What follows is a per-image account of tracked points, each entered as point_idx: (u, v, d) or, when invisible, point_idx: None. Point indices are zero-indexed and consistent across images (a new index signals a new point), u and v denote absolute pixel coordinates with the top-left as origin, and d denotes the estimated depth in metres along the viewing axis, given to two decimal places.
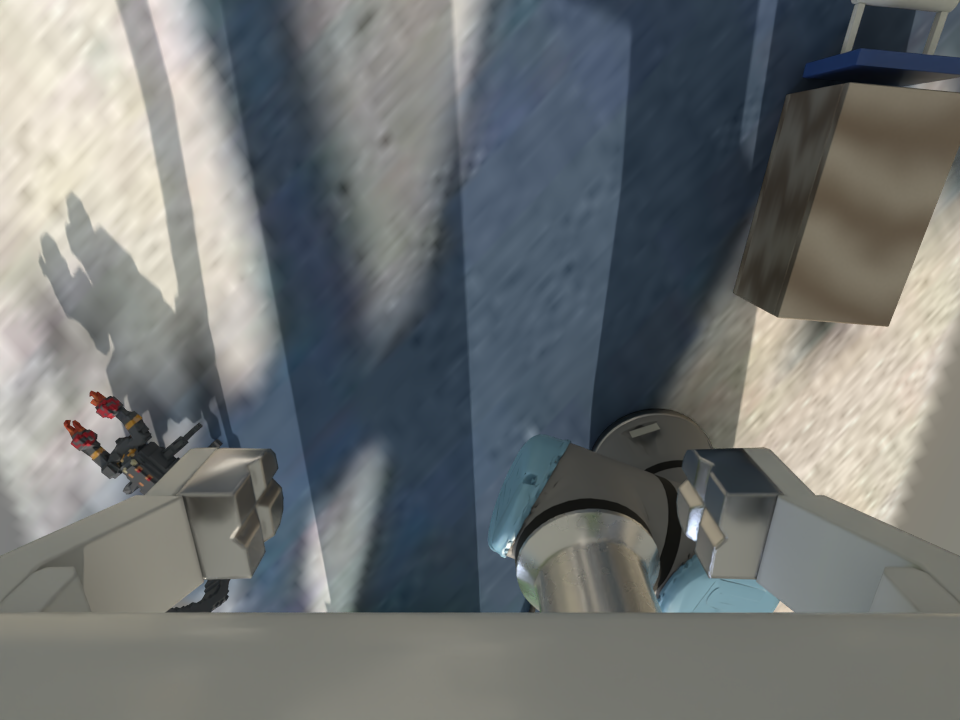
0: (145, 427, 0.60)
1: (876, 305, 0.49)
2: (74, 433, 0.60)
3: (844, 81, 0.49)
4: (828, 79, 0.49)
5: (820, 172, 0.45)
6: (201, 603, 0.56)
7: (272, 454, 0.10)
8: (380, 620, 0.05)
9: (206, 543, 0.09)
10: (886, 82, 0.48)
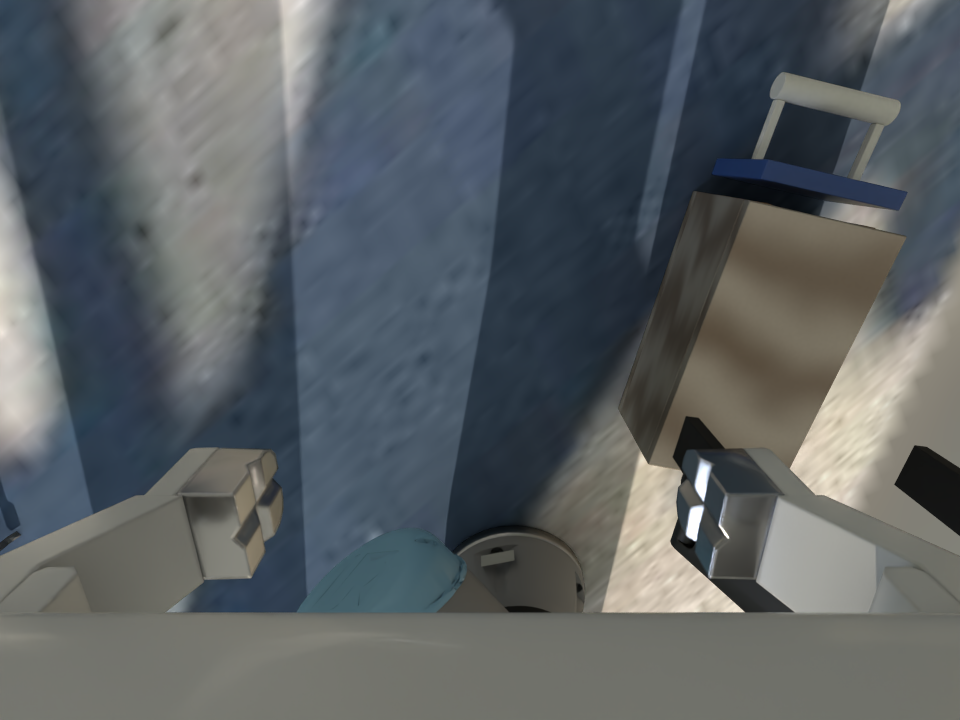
0: None
1: None
2: None
3: None
4: (742, 181, 0.40)
5: (708, 303, 0.35)
6: None
7: (272, 454, 0.10)
8: (380, 620, 0.05)
9: (206, 543, 0.09)
10: (808, 195, 0.39)
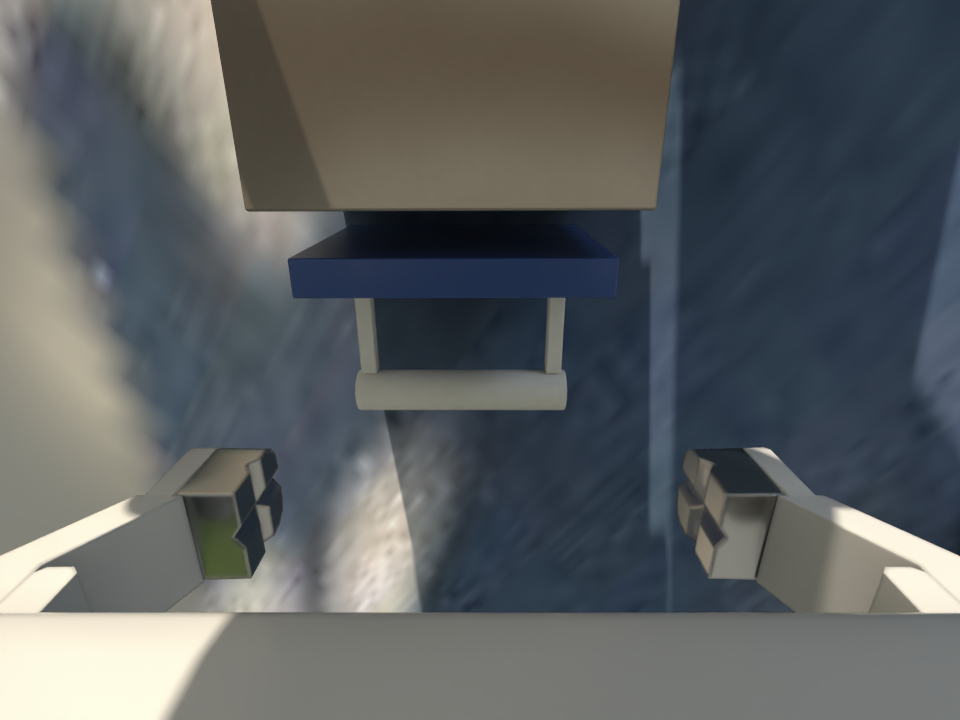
0: None
1: None
2: None
3: (479, 225, 0.22)
4: (520, 225, 0.22)
5: None
6: None
7: (272, 454, 0.10)
8: (380, 620, 0.05)
9: (206, 543, 0.09)
10: (404, 229, 0.21)
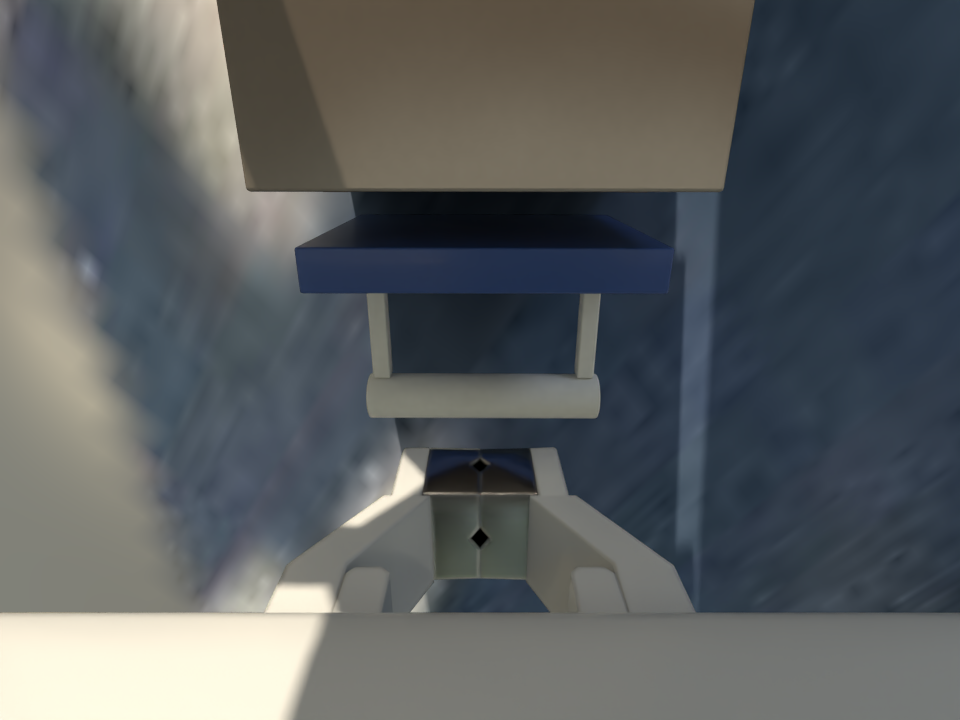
0: None
1: None
2: None
3: (501, 215, 0.20)
4: (547, 215, 0.20)
5: None
6: None
7: (480, 454, 0.10)
8: (380, 620, 0.05)
9: (443, 543, 0.09)
10: (420, 219, 0.19)
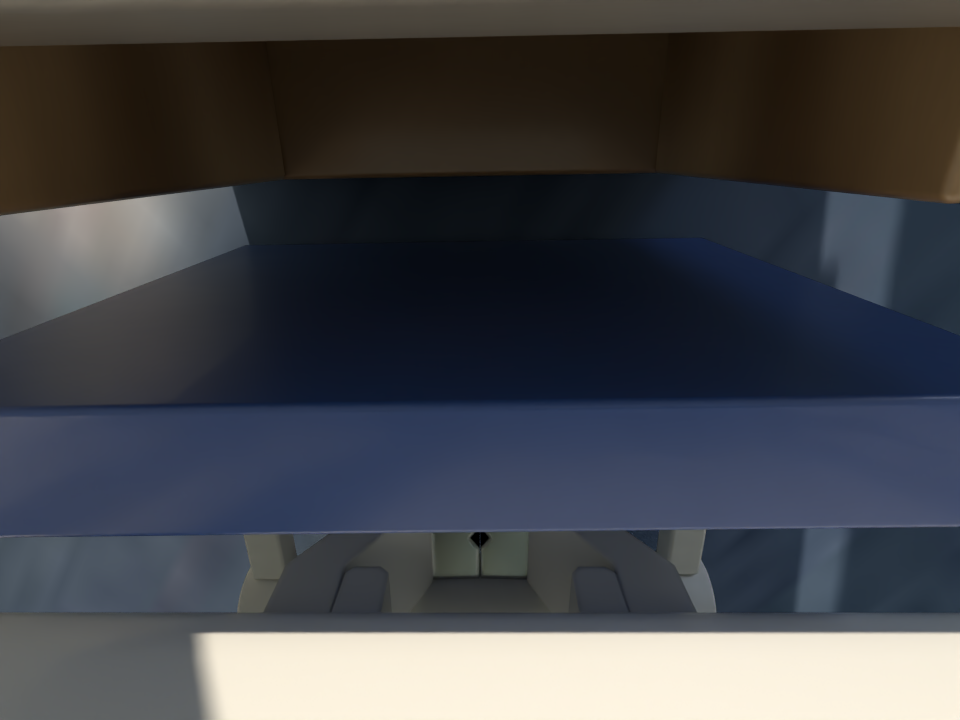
0: None
1: None
2: None
3: (506, 241, 0.11)
4: (592, 241, 0.11)
5: None
6: None
7: None
8: (380, 620, 0.05)
9: (442, 543, 0.09)
10: (345, 256, 0.09)
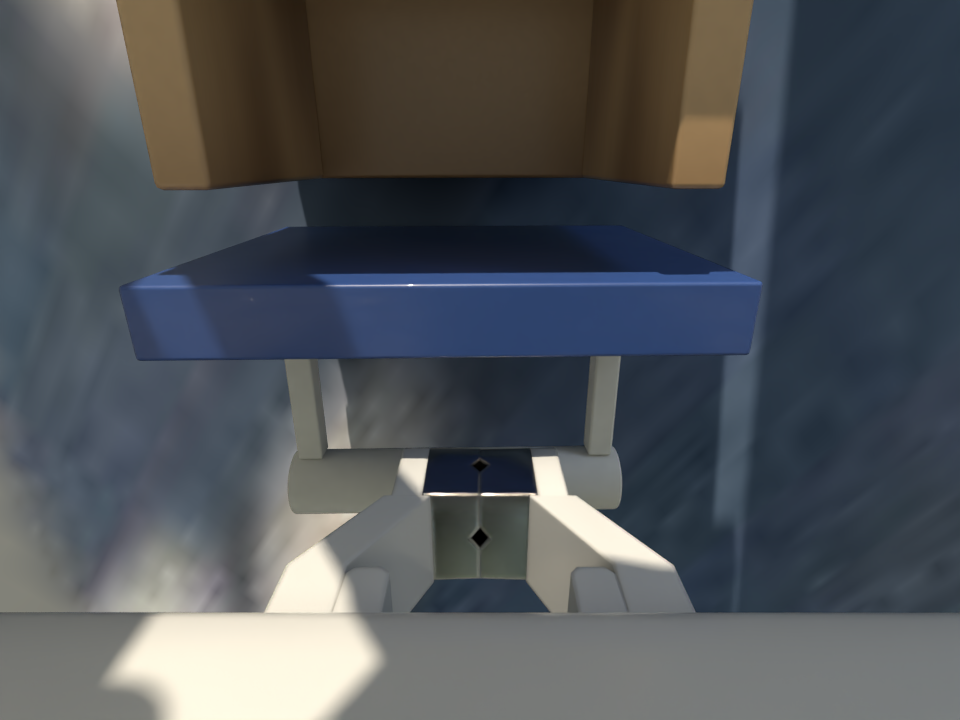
0: None
1: None
2: None
3: (480, 226, 0.15)
4: (542, 226, 0.15)
5: None
6: None
7: (480, 454, 0.10)
8: (380, 620, 0.05)
9: (443, 543, 0.09)
10: (365, 233, 0.13)
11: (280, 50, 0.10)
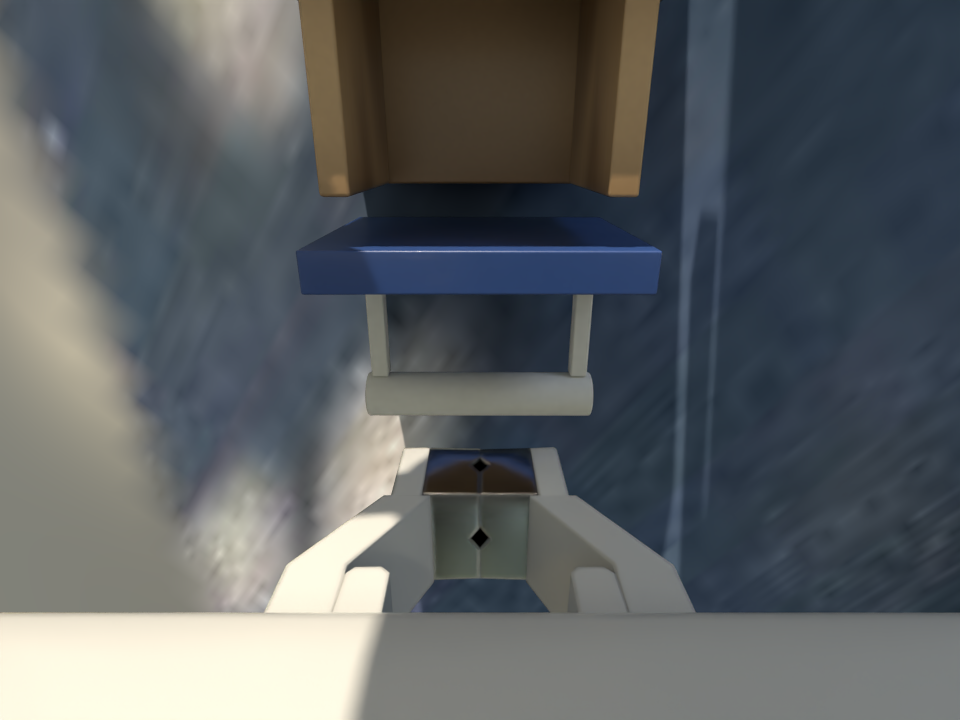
0: None
1: None
2: None
3: (497, 217, 0.21)
4: (541, 218, 0.20)
5: None
6: None
7: (480, 454, 0.10)
8: (380, 620, 0.05)
9: (443, 543, 0.09)
10: (417, 221, 0.19)
11: (372, 104, 0.16)
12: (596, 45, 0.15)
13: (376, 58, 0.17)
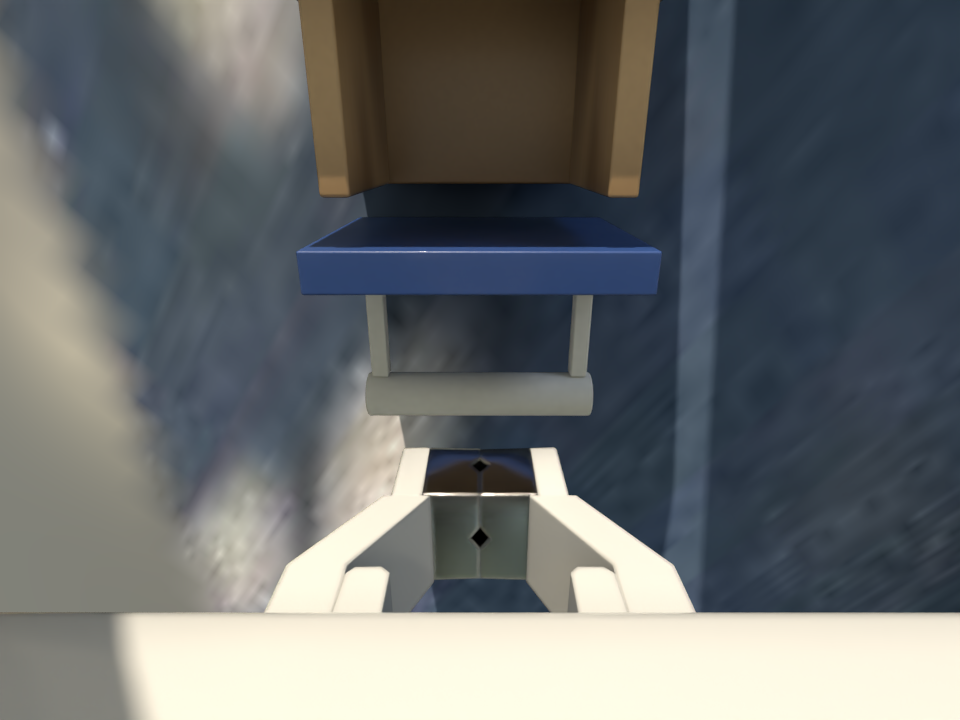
0: None
1: None
2: None
3: (497, 217, 0.21)
4: (541, 218, 0.20)
5: None
6: None
7: (480, 454, 0.10)
8: (380, 620, 0.05)
9: (443, 543, 0.09)
10: (417, 221, 0.19)
11: (372, 105, 0.16)
12: (596, 45, 0.15)
13: (376, 58, 0.17)
